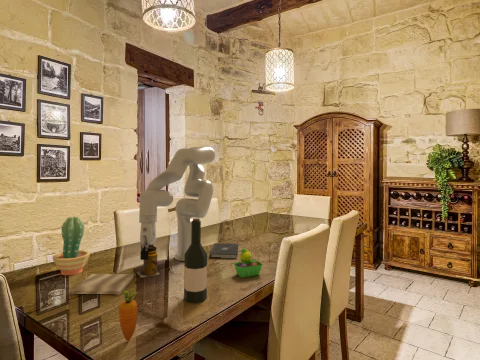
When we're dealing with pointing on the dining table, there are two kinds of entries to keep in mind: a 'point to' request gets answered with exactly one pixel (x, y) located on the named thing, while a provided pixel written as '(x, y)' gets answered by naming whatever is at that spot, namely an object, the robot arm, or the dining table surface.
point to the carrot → (128, 315)
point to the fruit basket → (247, 265)
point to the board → (103, 284)
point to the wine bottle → (195, 267)
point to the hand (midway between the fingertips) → (147, 256)
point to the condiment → (150, 263)
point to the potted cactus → (71, 248)
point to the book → (224, 250)
